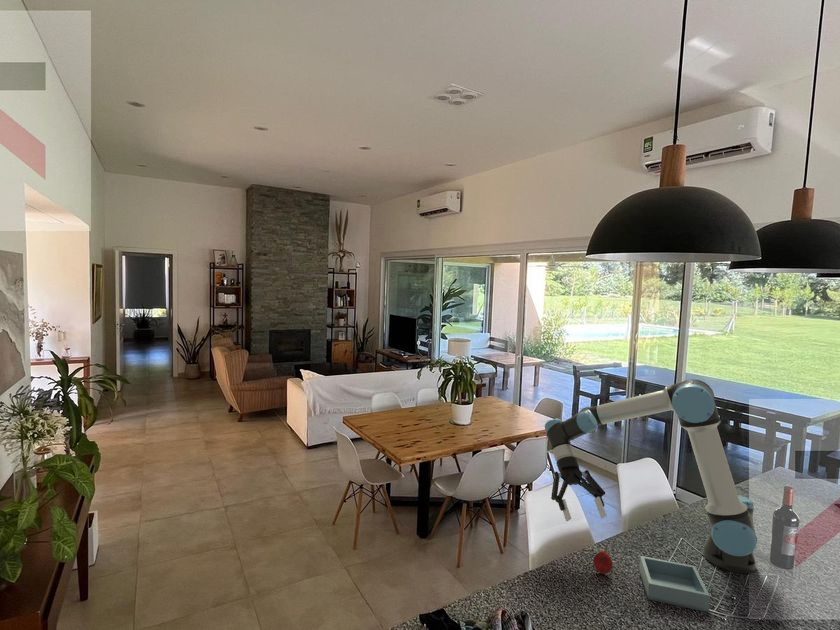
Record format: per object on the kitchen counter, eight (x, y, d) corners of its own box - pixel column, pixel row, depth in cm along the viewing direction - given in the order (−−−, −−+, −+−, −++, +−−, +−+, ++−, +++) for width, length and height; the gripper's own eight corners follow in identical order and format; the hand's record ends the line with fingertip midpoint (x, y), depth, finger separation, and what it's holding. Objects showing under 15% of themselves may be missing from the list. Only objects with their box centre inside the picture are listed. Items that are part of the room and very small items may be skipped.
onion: (613, 580, 143) (615, 556, 143) (594, 578, 144) (595, 553, 144) (609, 569, 149) (611, 546, 148) (591, 567, 150) (592, 543, 150)
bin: (693, 581, 145) (695, 566, 144) (708, 612, 130) (709, 595, 130) (639, 570, 149) (640, 555, 149) (647, 599, 135) (648, 583, 135)
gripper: (590, 462, 174) (612, 519, 161) (531, 465, 169) (549, 524, 155) (599, 453, 169) (623, 512, 155) (539, 456, 164) (558, 517, 150)
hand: (586, 518), depth 155 cm, fingers open, 13 cm apart
